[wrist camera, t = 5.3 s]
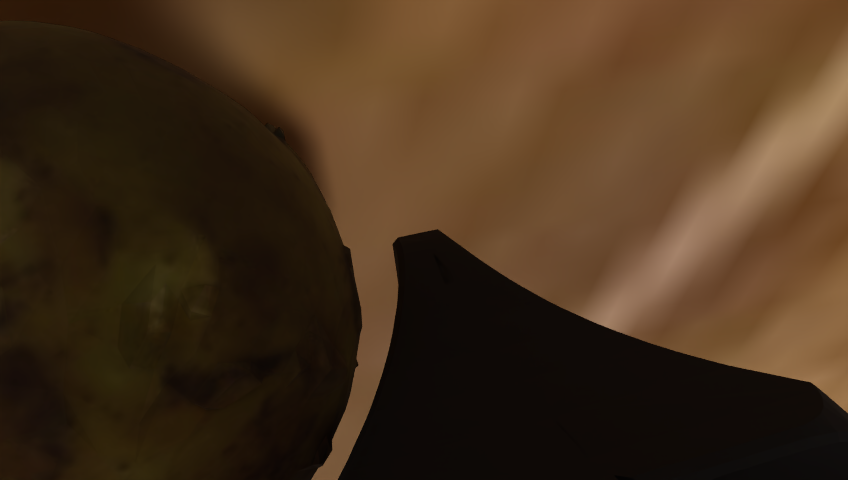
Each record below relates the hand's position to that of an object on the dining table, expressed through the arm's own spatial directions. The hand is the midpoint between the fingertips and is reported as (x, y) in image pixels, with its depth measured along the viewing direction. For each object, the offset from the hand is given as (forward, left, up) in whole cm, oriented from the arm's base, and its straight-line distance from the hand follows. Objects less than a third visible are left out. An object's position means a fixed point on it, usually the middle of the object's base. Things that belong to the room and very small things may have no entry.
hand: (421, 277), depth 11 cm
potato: (0, +7, -3) cm, 7 cm away
